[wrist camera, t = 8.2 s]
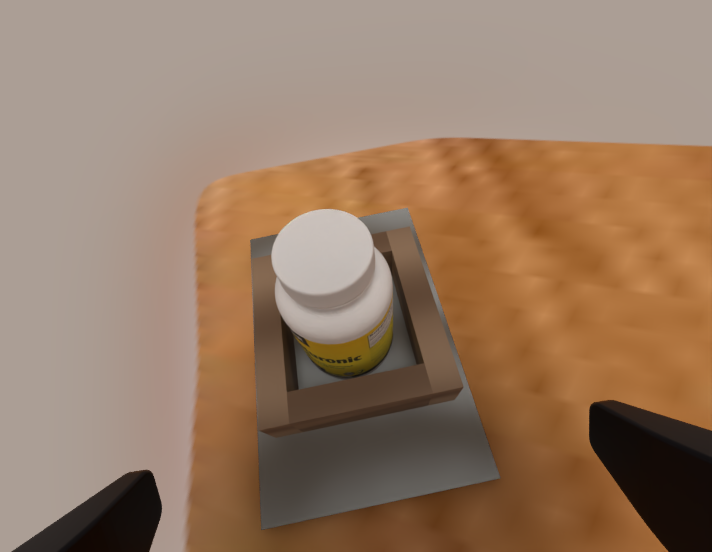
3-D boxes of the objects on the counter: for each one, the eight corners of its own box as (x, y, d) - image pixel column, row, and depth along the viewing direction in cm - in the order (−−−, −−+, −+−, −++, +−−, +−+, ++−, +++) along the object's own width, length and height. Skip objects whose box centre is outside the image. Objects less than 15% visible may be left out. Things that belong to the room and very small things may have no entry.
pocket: (496, 478, 18) (518, 476, 15) (266, 528, 18) (238, 537, 15) (407, 214, 28) (408, 178, 24) (254, 245, 27) (235, 213, 24)
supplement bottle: (289, 355, 22) (223, 273, 13) (335, 286, 24) (302, 177, 16) (366, 399, 20) (346, 336, 12) (408, 320, 22) (416, 219, 14)
